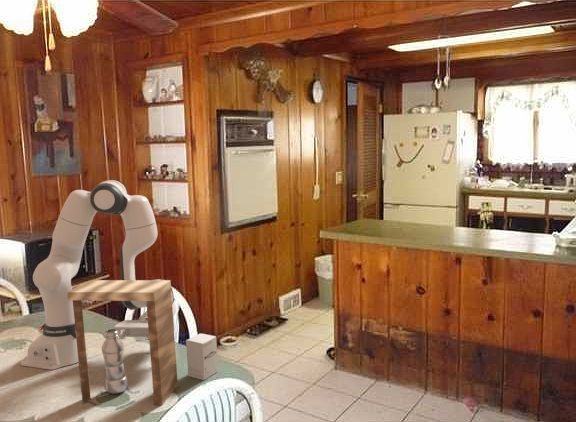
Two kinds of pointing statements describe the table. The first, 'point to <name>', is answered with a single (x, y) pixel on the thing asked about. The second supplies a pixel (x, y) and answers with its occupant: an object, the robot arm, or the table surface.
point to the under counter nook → (158, 325)
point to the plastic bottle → (114, 362)
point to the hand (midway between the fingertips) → (134, 337)
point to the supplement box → (202, 356)
